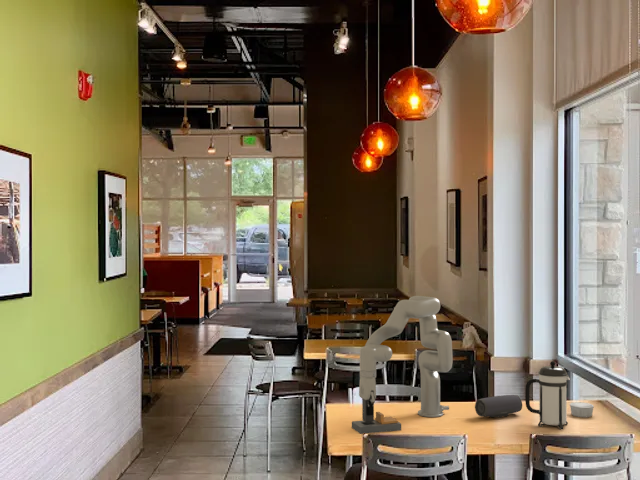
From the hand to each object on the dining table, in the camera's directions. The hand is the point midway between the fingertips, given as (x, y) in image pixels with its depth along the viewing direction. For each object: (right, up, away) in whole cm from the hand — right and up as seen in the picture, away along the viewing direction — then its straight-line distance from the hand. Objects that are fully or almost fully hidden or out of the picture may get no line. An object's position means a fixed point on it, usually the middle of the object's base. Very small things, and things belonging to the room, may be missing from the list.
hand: (368, 413), depth 326 cm
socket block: (+4, -7, +1) cm, 8 cm away
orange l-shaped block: (+9, -4, +3) cm, 10 cm away
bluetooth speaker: (+66, -8, +24) cm, 70 cm away
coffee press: (+85, -7, +6) cm, 86 cm away
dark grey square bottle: (0, -3, 0) cm, 3 cm away
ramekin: (+107, -7, +26) cm, 111 cm away
